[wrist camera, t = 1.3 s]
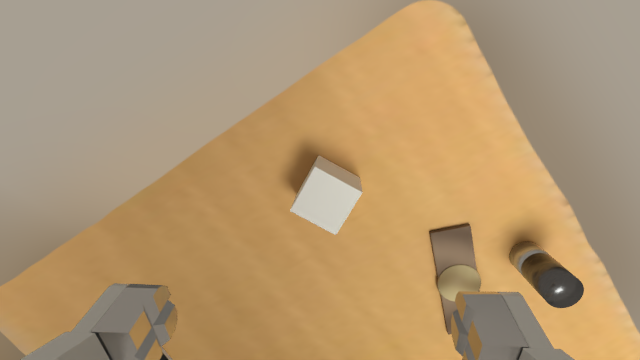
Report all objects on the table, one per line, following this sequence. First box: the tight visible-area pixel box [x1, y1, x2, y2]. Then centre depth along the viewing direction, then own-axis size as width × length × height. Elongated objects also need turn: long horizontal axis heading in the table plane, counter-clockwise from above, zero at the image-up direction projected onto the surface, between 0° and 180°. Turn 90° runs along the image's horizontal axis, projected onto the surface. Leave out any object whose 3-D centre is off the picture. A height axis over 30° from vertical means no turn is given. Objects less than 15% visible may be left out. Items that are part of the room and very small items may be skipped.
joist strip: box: [430, 224, 481, 334], centre depth 45 cm, size 16×6×1 cm, turn 14°
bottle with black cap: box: [509, 241, 584, 308], centre depth 40 cm, size 4×4×8 cm
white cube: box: [290, 155, 362, 235], centre depth 40 cm, size 6×6×6 cm
